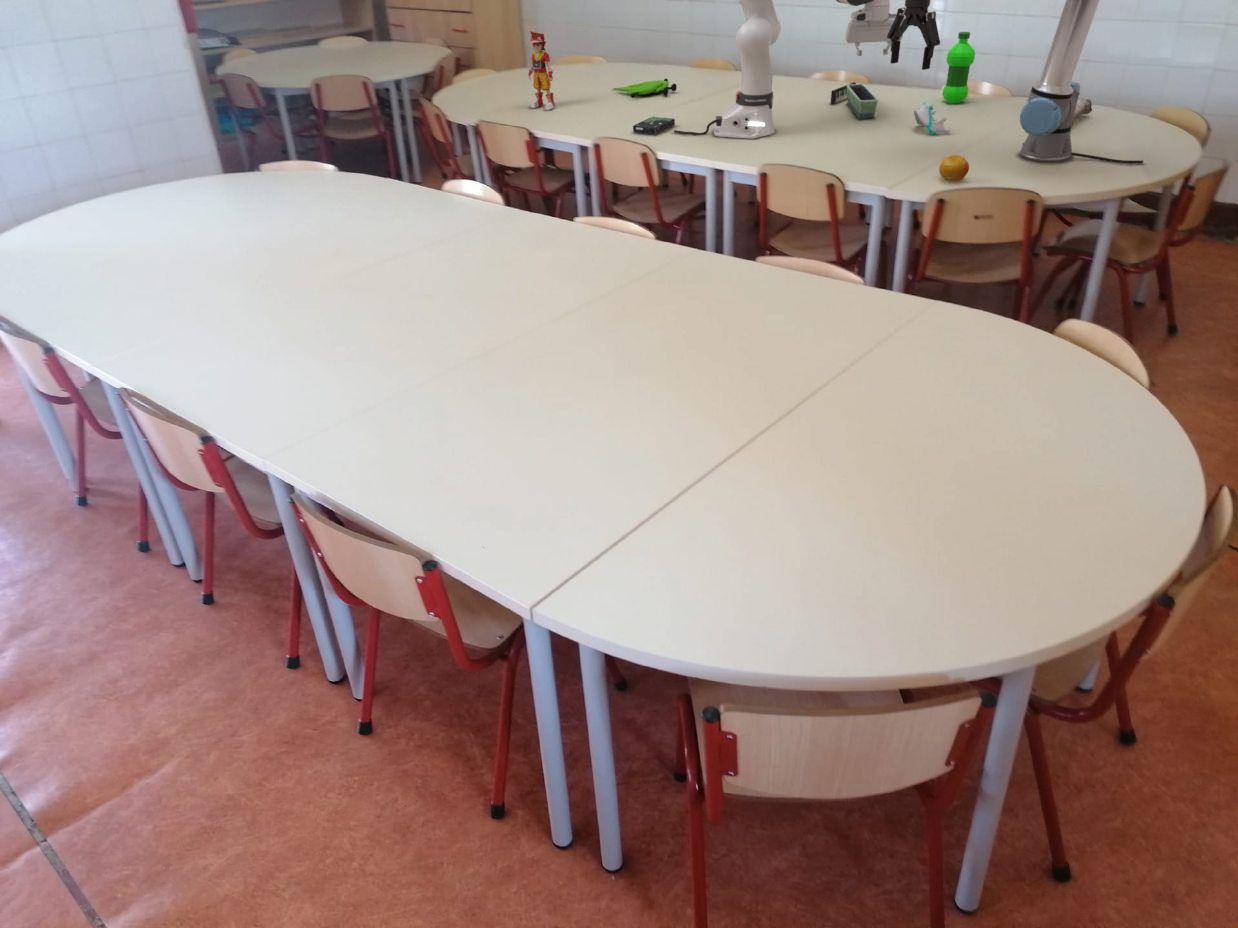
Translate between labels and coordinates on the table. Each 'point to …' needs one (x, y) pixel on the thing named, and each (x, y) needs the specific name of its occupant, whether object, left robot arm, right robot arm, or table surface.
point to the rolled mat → (1082, 107)
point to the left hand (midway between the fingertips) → (872, 55)
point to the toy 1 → (541, 71)
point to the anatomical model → (929, 119)
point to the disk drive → (653, 125)
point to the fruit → (954, 168)
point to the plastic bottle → (958, 69)
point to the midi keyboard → (839, 94)
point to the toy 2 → (648, 88)
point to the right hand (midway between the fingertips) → (909, 66)
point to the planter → (861, 101)
